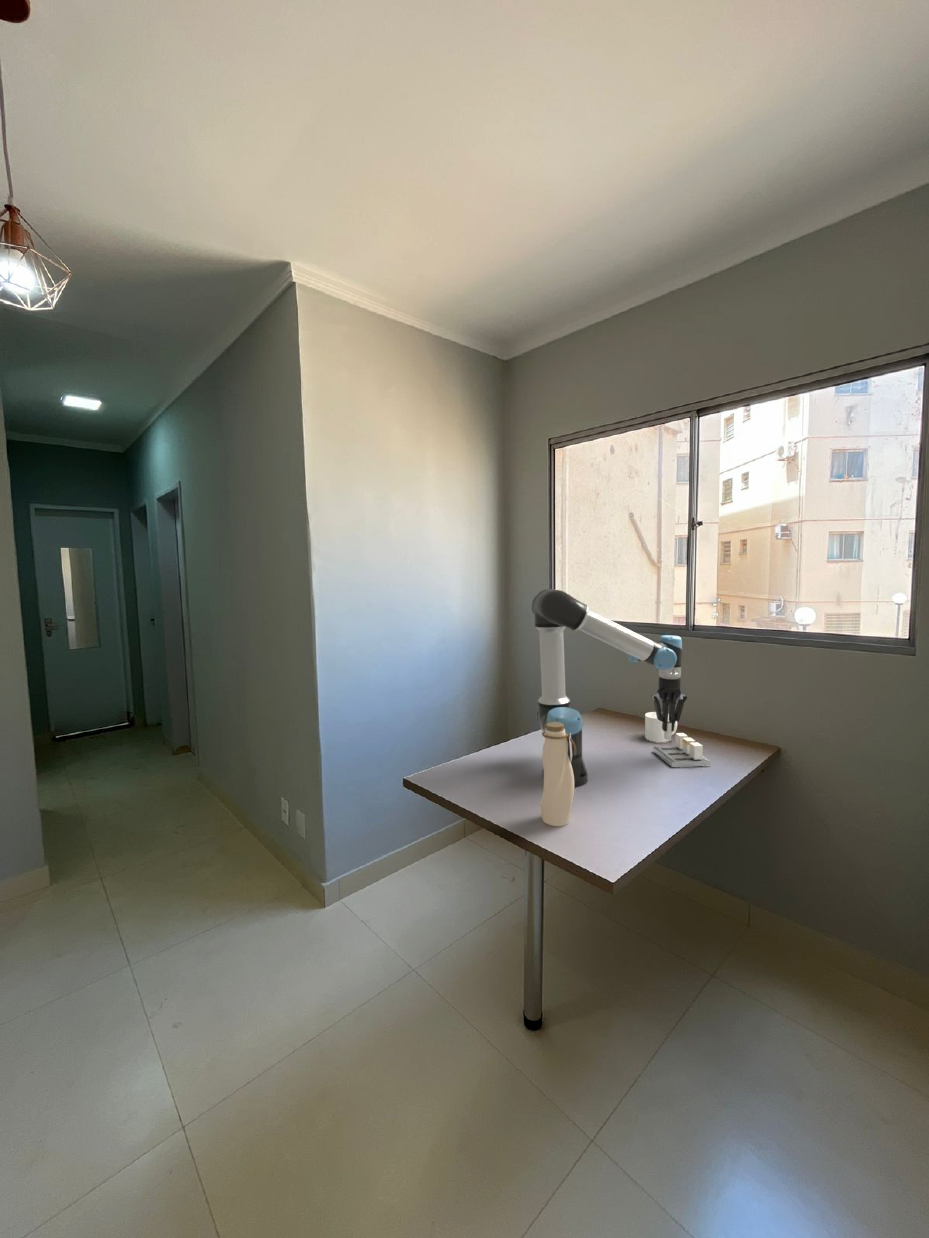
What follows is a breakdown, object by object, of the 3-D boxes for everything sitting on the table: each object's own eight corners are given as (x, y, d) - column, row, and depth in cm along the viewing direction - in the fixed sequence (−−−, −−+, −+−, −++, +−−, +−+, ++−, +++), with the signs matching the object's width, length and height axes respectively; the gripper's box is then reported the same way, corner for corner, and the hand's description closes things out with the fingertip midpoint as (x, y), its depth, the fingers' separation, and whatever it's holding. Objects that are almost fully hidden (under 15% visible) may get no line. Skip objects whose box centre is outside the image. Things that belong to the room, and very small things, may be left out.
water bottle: (572, 811, 148) (571, 719, 145) (580, 826, 139) (579, 728, 136) (537, 812, 148) (536, 720, 145) (543, 827, 139) (542, 729, 136)
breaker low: (694, 759, 179) (694, 746, 179) (689, 755, 183) (689, 742, 182) (702, 759, 179) (702, 745, 179) (697, 755, 183) (697, 742, 183)
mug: (641, 740, 208) (642, 716, 207) (649, 734, 216) (649, 710, 215) (673, 746, 200) (673, 721, 199) (679, 739, 208) (680, 715, 207)
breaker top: (679, 748, 190) (679, 736, 190) (675, 745, 194) (675, 733, 193) (687, 748, 190) (687, 735, 190) (682, 745, 194) (683, 732, 193)
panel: (672, 767, 178) (672, 762, 178) (653, 752, 194) (653, 746, 194) (710, 766, 179) (710, 760, 179) (688, 750, 195) (688, 745, 195)
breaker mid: (687, 754, 185) (687, 740, 184) (682, 750, 188) (682, 737, 188) (695, 753, 185) (695, 740, 184) (690, 750, 188) (690, 737, 188)
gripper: (656, 679, 181) (654, 742, 183) (691, 679, 181) (689, 742, 183) (648, 675, 188) (646, 736, 190) (682, 675, 189) (679, 735, 191)
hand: (667, 739), depth 187 cm, fingers closed
